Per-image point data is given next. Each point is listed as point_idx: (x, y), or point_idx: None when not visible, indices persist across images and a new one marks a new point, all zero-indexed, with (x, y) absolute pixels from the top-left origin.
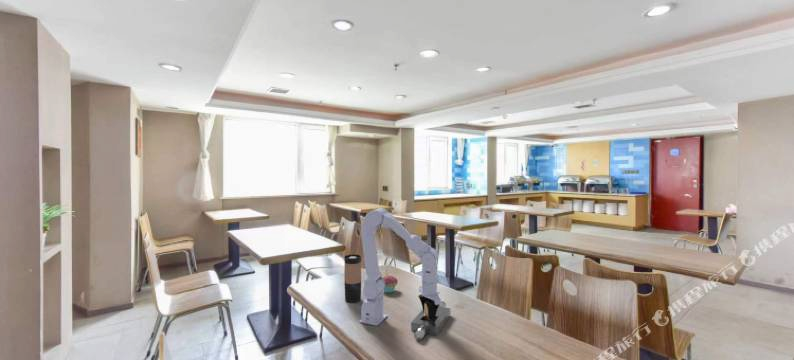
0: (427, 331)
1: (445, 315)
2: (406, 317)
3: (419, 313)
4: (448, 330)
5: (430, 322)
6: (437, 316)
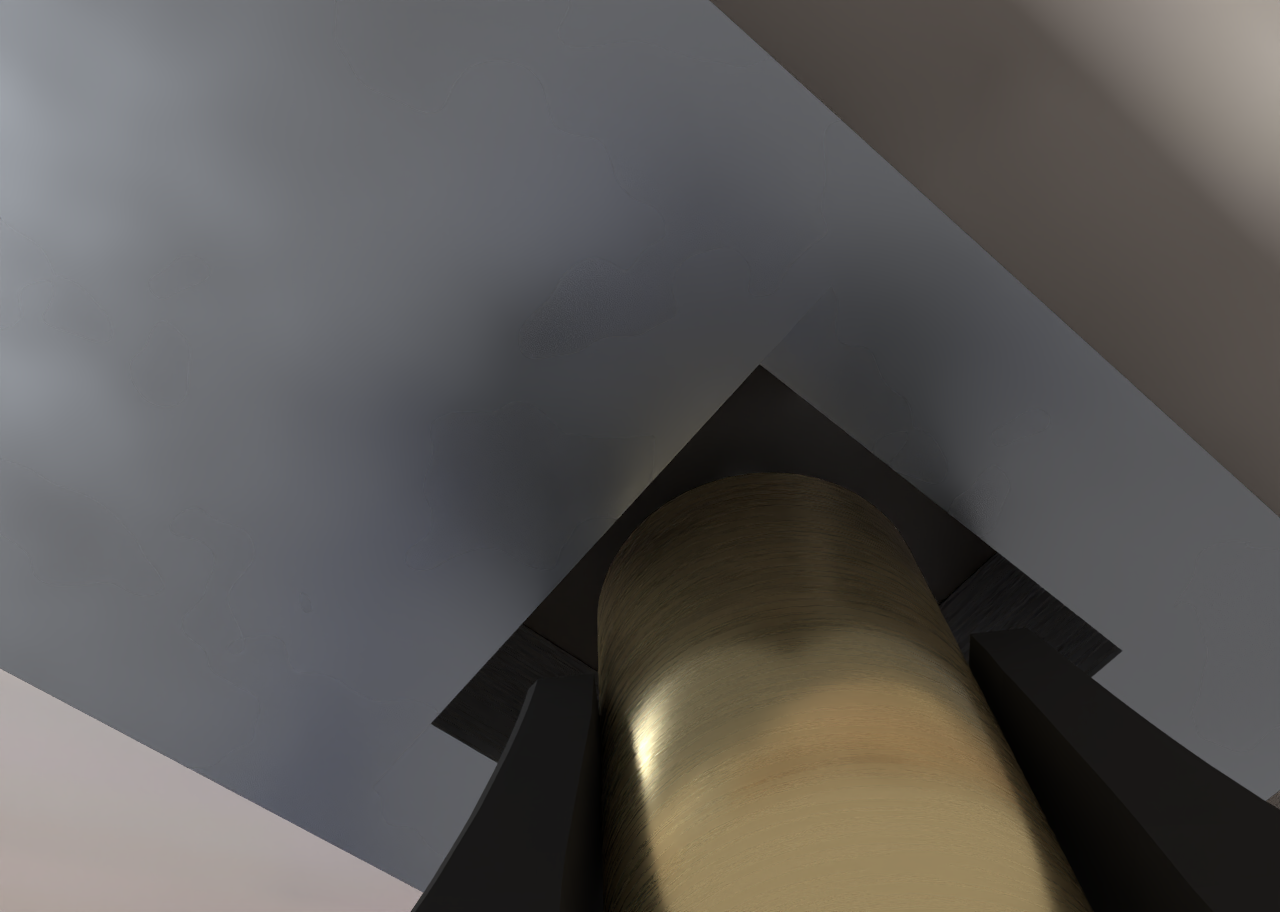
0: None
1: (759, 47)
2: (140, 902)
3: (364, 849)
4: (1199, 130)
5: None
6: (727, 390)
